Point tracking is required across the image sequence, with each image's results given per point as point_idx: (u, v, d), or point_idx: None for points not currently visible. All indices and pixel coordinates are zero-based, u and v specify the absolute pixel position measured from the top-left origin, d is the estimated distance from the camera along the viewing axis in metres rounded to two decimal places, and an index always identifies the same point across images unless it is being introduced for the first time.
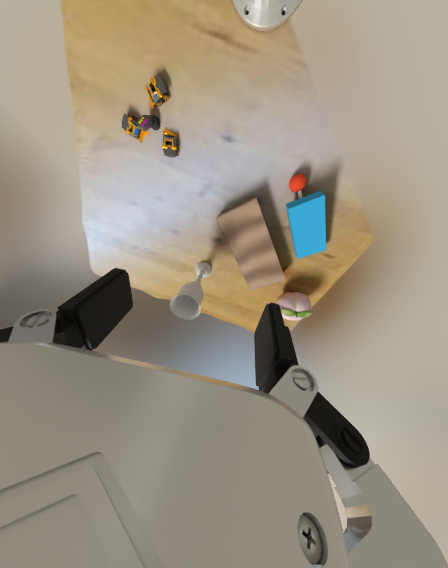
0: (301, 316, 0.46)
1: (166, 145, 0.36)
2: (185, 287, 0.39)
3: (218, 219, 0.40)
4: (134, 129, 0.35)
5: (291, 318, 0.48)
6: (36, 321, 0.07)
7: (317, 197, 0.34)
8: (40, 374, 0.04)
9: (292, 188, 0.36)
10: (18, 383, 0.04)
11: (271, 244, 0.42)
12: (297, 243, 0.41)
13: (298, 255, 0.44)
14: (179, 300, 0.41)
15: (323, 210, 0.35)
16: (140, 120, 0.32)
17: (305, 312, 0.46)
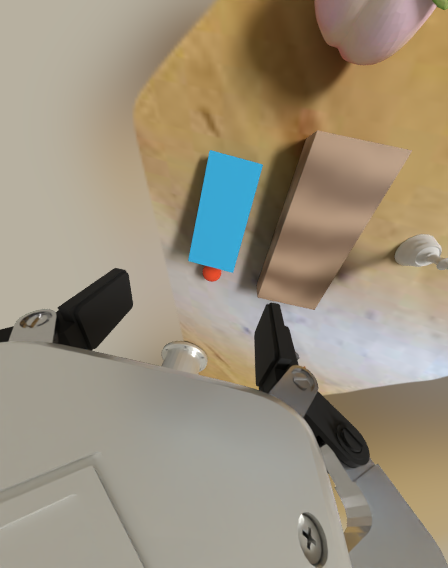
0: None
1: None
2: None
3: (312, 307, 0.29)
4: None
5: None
6: (36, 321, 0.07)
7: (196, 262, 0.25)
8: (40, 374, 0.04)
9: (218, 274, 0.30)
10: (18, 383, 0.04)
11: (282, 234, 0.23)
12: (246, 204, 0.23)
13: (257, 172, 0.22)
14: None
15: (194, 239, 0.24)
16: None
17: None
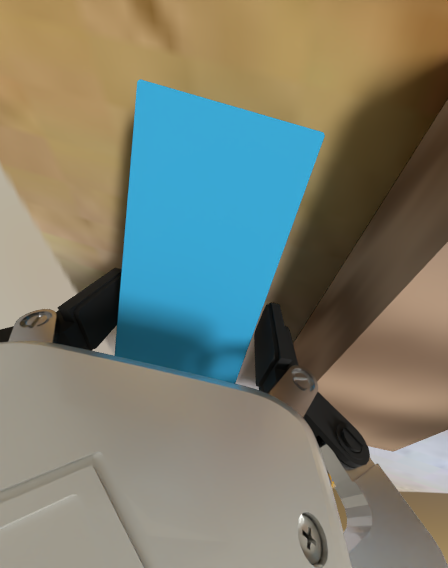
0: None
1: None
2: None
3: (390, 448, 0.14)
4: None
5: None
6: (36, 321, 0.07)
7: None
8: (40, 374, 0.04)
9: None
10: (18, 383, 0.04)
11: (361, 342, 0.08)
12: (262, 261, 0.07)
13: (304, 161, 0.06)
14: None
15: (121, 342, 0.09)
16: None
17: None
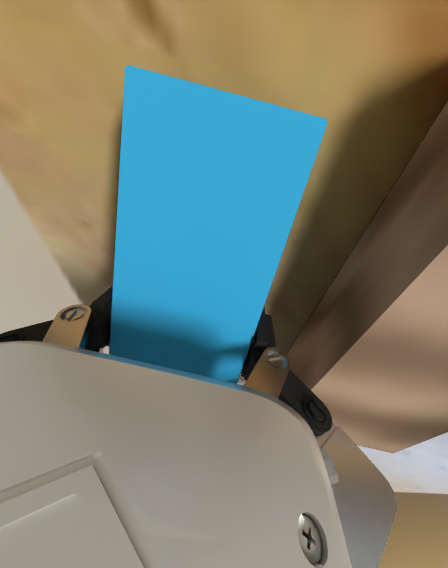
0: None
1: None
2: None
3: (390, 450, 0.14)
4: None
5: None
6: (73, 315, 0.08)
7: None
8: (40, 374, 0.04)
9: None
10: (18, 383, 0.04)
11: (360, 345, 0.08)
12: (261, 259, 0.07)
13: (306, 150, 0.06)
14: None
15: (115, 346, 0.09)
16: None
17: None
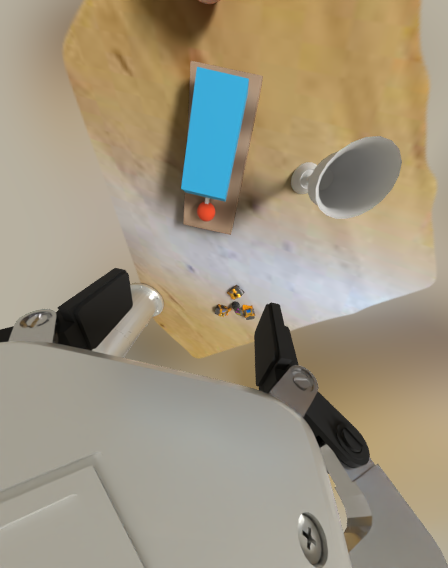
0: None
1: (237, 295, 0.46)
2: None
3: (228, 232, 0.35)
4: (248, 313, 0.49)
5: None
6: (36, 321, 0.07)
7: (189, 190, 0.26)
8: (40, 374, 0.04)
9: (212, 211, 0.31)
10: (18, 383, 0.04)
11: None
12: (234, 124, 0.23)
13: (244, 87, 0.22)
14: (362, 189, 0.20)
15: (186, 165, 0.25)
16: (238, 314, 0.47)
17: None
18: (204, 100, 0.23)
